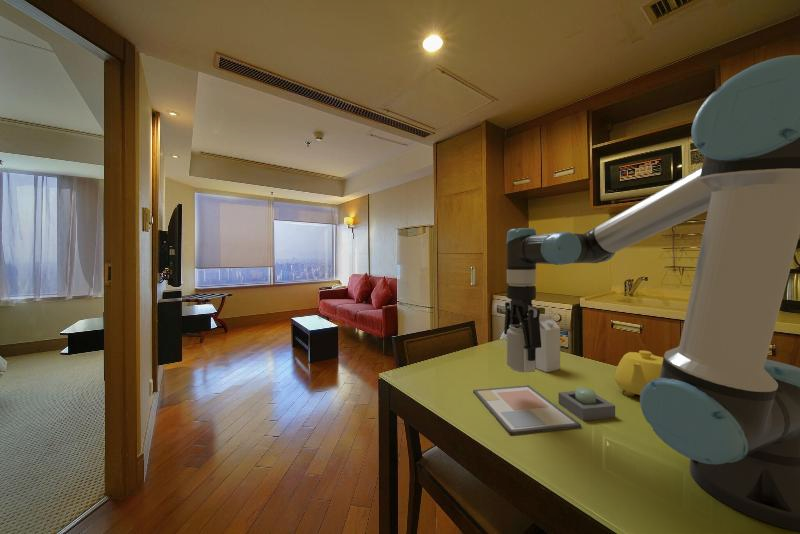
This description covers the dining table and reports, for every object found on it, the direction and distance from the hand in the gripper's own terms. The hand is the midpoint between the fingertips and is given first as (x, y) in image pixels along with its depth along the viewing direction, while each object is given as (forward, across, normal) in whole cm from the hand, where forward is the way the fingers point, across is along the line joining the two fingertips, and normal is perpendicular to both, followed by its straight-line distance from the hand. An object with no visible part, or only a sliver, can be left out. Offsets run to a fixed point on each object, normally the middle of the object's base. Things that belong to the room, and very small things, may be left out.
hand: (521, 365), depth 83 cm
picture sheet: (+10, -3, +2) cm, 11 cm away
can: (+1, 0, 0) cm, 1 cm away
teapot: (+10, -3, -36) cm, 38 cm away
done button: (+9, -7, -14) cm, 18 cm away
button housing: (+10, -7, -14) cm, 19 cm away
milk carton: (+10, +22, -22) cm, 33 cm away
